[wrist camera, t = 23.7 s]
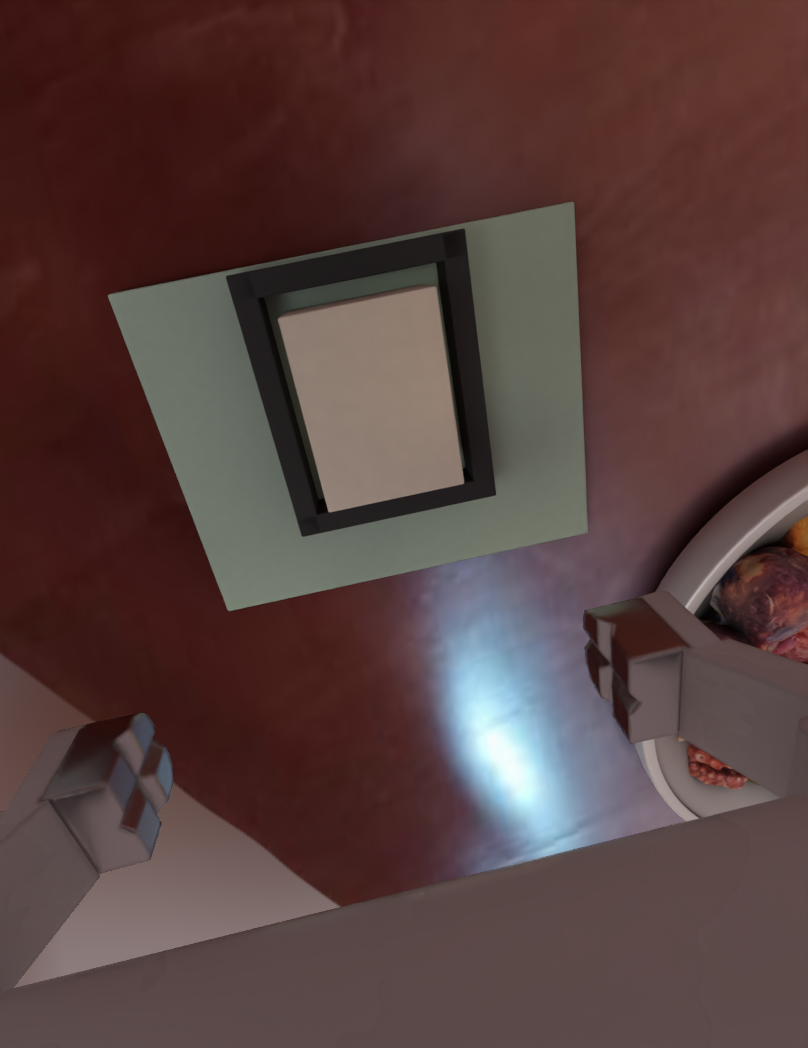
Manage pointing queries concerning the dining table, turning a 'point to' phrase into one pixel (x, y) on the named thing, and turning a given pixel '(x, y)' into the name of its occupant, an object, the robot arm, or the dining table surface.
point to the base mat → (279, 428)
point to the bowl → (738, 619)
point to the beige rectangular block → (375, 395)
